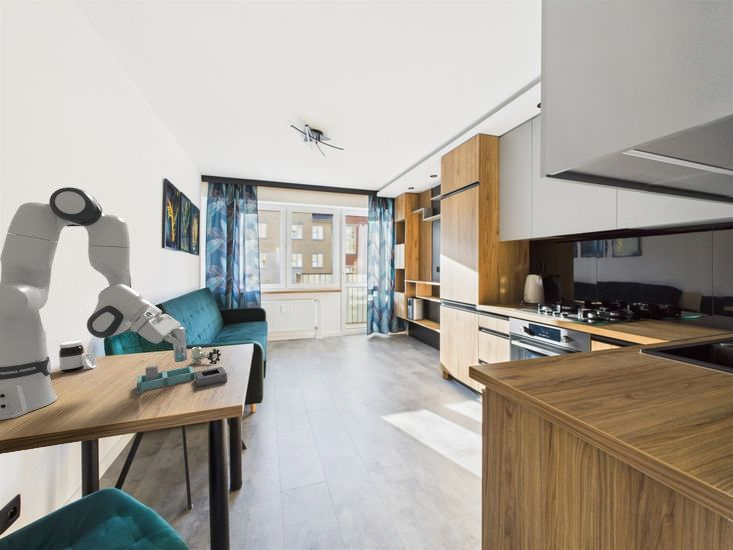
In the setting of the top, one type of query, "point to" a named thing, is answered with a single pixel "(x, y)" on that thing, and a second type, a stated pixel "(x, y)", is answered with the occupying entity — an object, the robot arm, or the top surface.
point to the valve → (204, 355)
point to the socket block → (210, 377)
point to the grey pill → (180, 349)
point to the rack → (163, 377)
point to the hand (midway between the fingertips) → (181, 341)
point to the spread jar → (75, 357)
